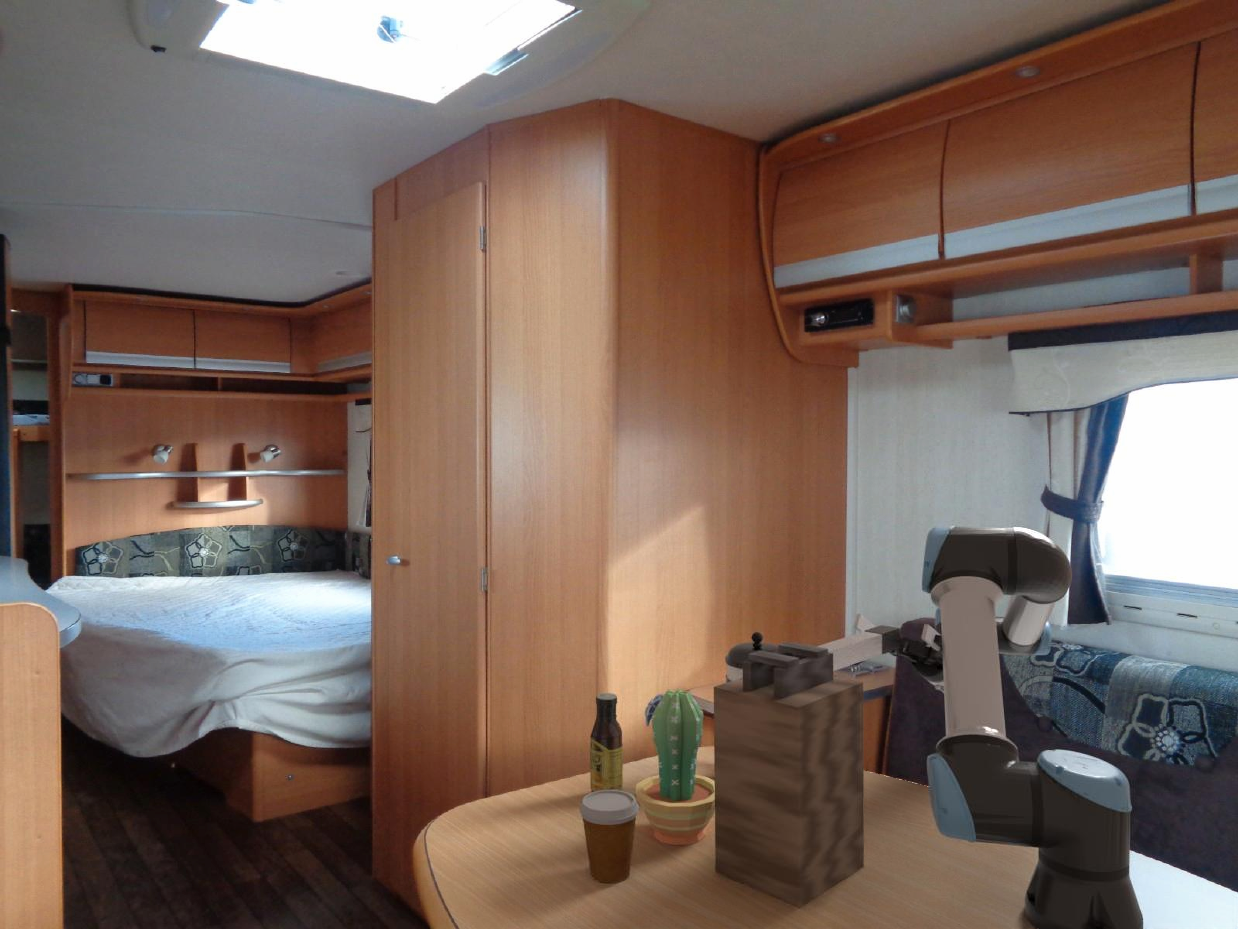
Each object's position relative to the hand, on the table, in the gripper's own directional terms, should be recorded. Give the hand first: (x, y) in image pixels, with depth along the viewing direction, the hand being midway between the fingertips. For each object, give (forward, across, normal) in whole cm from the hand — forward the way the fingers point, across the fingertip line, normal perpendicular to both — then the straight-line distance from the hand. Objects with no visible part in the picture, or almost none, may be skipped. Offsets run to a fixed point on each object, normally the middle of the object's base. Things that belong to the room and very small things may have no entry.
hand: (889, 625), depth 173 cm
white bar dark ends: (+9, 0, -10) cm, 14 cm away
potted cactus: (+12, +22, -47) cm, 53 cm away
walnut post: (+11, 0, -46) cm, 47 cm away
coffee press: (-13, +28, -32) cm, 44 cm away
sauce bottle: (+10, +42, -46) cm, 63 cm away
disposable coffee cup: (+29, +20, -56) cm, 66 cm away
